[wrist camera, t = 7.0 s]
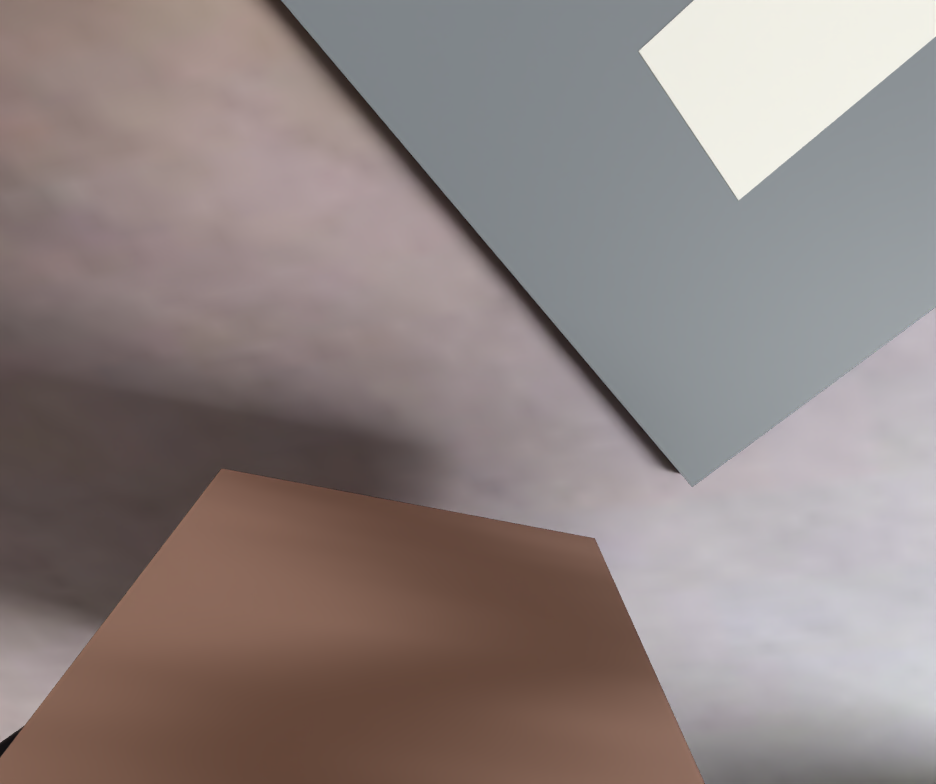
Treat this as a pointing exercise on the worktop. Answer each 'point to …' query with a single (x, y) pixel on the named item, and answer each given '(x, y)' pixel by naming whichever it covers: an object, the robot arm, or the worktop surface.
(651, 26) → the board
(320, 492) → the terracotta block
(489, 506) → the worktop surface
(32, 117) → the worktop surface
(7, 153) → the worktop surface
